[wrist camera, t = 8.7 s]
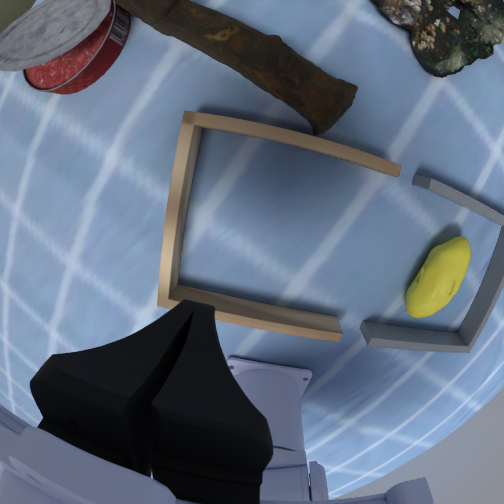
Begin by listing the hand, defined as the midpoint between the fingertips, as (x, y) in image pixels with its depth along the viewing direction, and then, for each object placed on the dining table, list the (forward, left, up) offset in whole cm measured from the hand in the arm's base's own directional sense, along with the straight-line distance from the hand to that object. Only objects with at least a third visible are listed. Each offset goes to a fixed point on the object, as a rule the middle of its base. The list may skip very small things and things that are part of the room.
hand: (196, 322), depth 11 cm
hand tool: (+14, +3, -10) cm, 18 cm away
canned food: (+15, +16, -10) cm, 24 cm away
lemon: (+2, -17, -10) cm, 20 cm away
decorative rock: (+27, -13, -10) cm, 32 cm away
